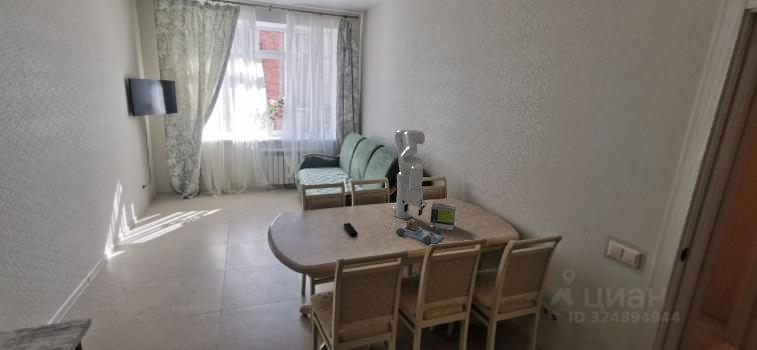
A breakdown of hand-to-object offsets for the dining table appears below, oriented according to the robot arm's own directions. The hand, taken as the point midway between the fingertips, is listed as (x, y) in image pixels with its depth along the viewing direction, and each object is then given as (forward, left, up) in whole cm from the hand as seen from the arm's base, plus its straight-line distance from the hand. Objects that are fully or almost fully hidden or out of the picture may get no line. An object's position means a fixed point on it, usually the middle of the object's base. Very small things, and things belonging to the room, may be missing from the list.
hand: (412, 213), depth 216 cm
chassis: (+5, 0, -13) cm, 14 cm away
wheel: (+13, 0, -9) cm, 16 cm away
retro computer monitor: (+10, +23, -13) cm, 28 cm away
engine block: (0, 0, -11) cm, 11 cm away
